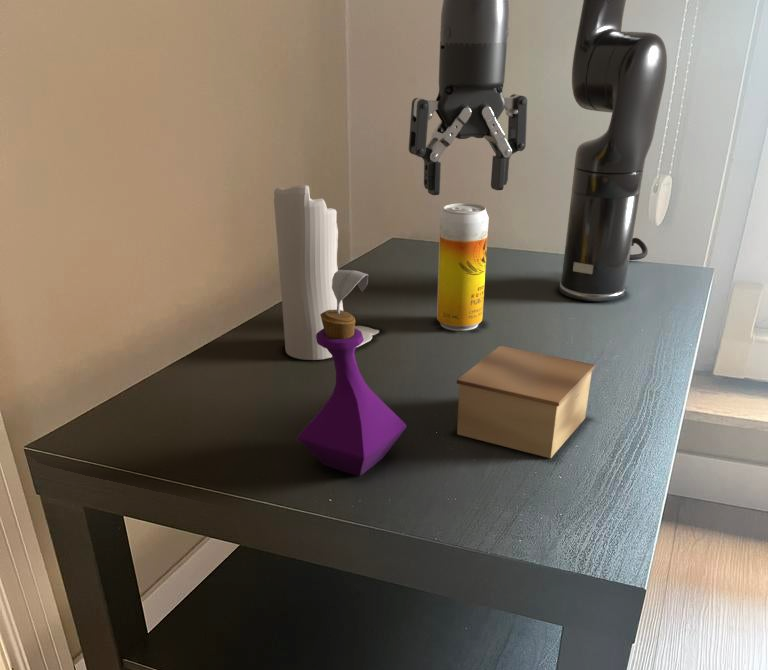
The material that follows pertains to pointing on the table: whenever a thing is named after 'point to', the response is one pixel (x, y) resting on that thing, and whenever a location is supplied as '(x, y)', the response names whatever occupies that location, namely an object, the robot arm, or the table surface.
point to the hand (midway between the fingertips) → (465, 191)
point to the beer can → (462, 265)
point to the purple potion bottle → (349, 396)
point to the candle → (307, 269)
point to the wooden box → (523, 400)
